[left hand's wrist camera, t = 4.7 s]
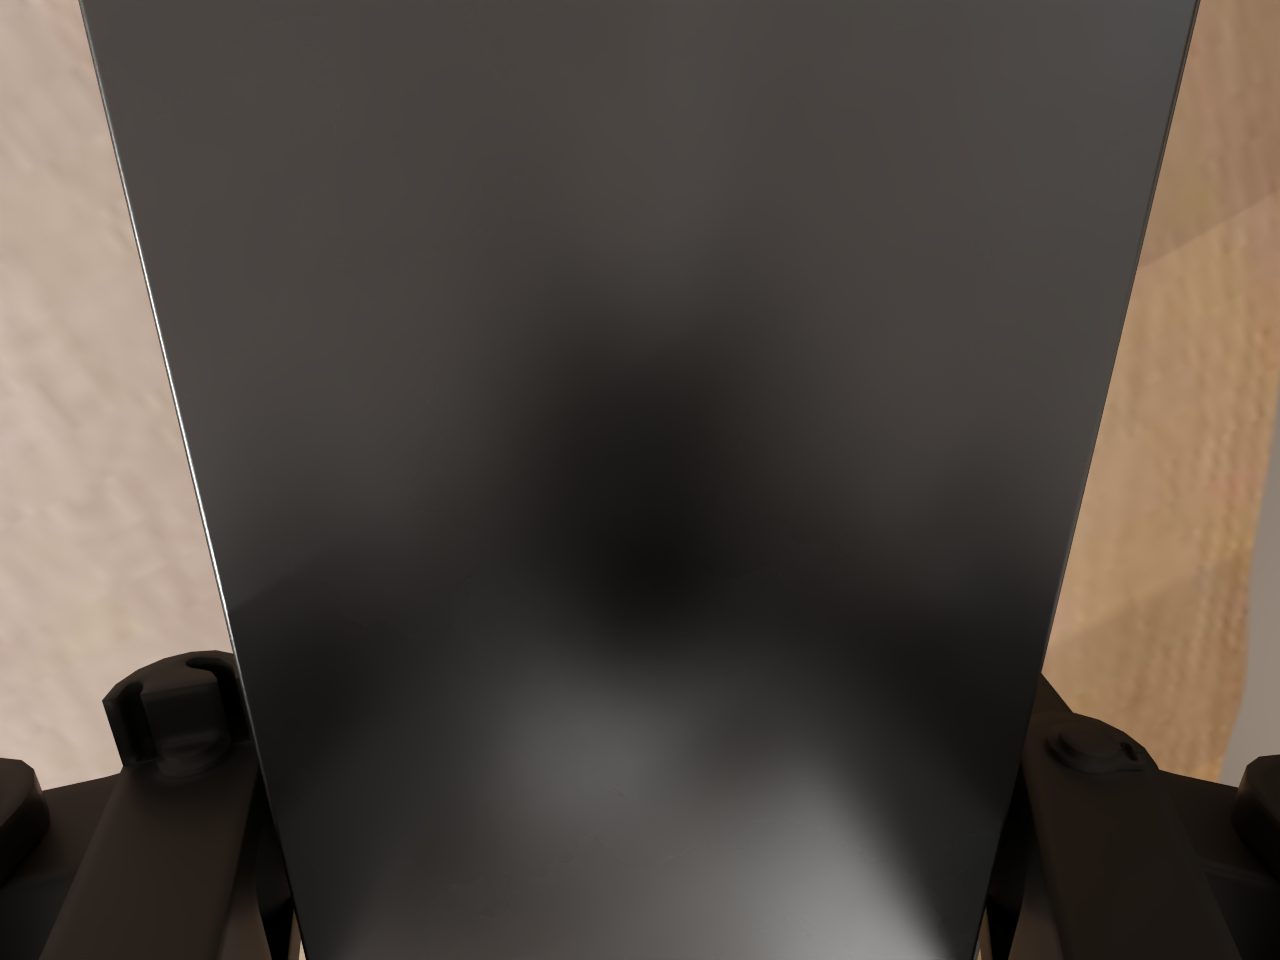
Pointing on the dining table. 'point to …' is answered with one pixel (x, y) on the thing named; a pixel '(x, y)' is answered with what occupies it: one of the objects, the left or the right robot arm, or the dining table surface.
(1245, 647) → the dining table surface
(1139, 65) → the bar
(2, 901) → the left robot arm
